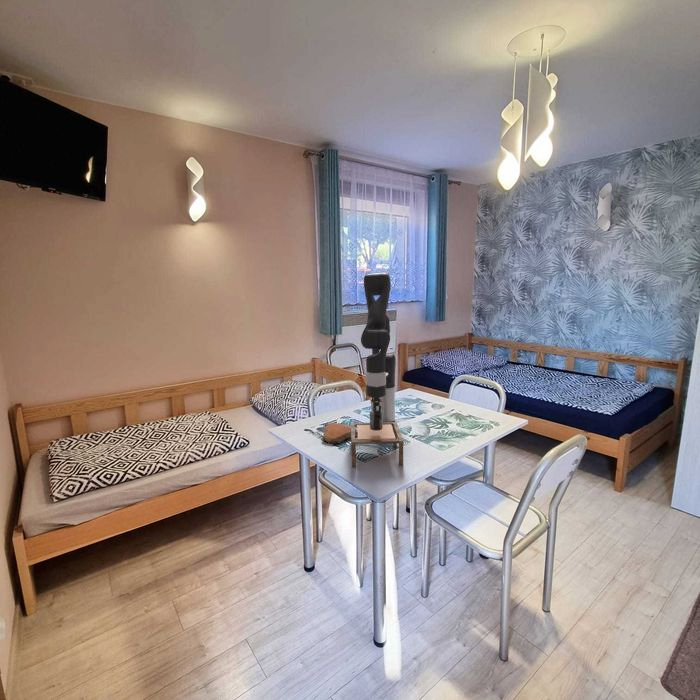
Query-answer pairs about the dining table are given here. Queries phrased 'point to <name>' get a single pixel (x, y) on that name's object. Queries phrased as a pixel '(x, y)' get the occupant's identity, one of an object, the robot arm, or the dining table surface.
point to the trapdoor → (375, 433)
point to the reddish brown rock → (337, 432)
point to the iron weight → (373, 422)
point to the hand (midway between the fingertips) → (376, 425)
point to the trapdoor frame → (377, 441)
